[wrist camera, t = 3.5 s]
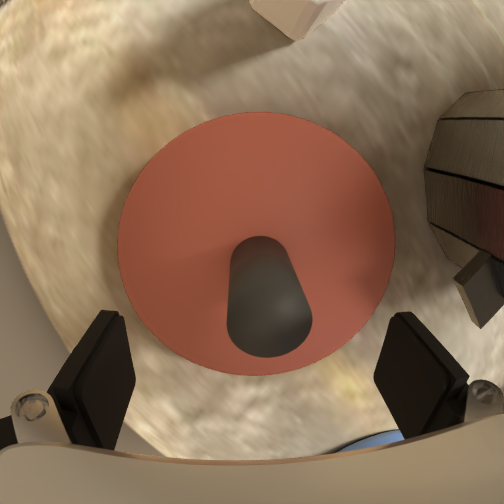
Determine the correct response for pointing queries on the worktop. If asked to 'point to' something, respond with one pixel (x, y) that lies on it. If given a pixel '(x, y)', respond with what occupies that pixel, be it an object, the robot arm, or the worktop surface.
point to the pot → (470, 198)
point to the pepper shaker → (296, 14)
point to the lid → (256, 243)
